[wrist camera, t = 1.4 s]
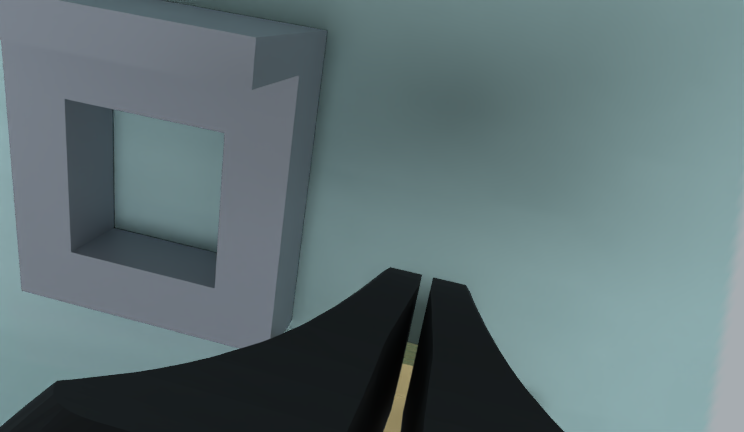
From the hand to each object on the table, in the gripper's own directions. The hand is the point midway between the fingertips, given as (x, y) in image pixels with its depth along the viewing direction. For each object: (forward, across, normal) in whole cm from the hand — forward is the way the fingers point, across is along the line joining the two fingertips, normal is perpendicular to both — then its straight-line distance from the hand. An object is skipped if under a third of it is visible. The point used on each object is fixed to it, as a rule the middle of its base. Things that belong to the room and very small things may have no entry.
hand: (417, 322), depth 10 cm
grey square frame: (+9, +10, +2) cm, 14 cm away
